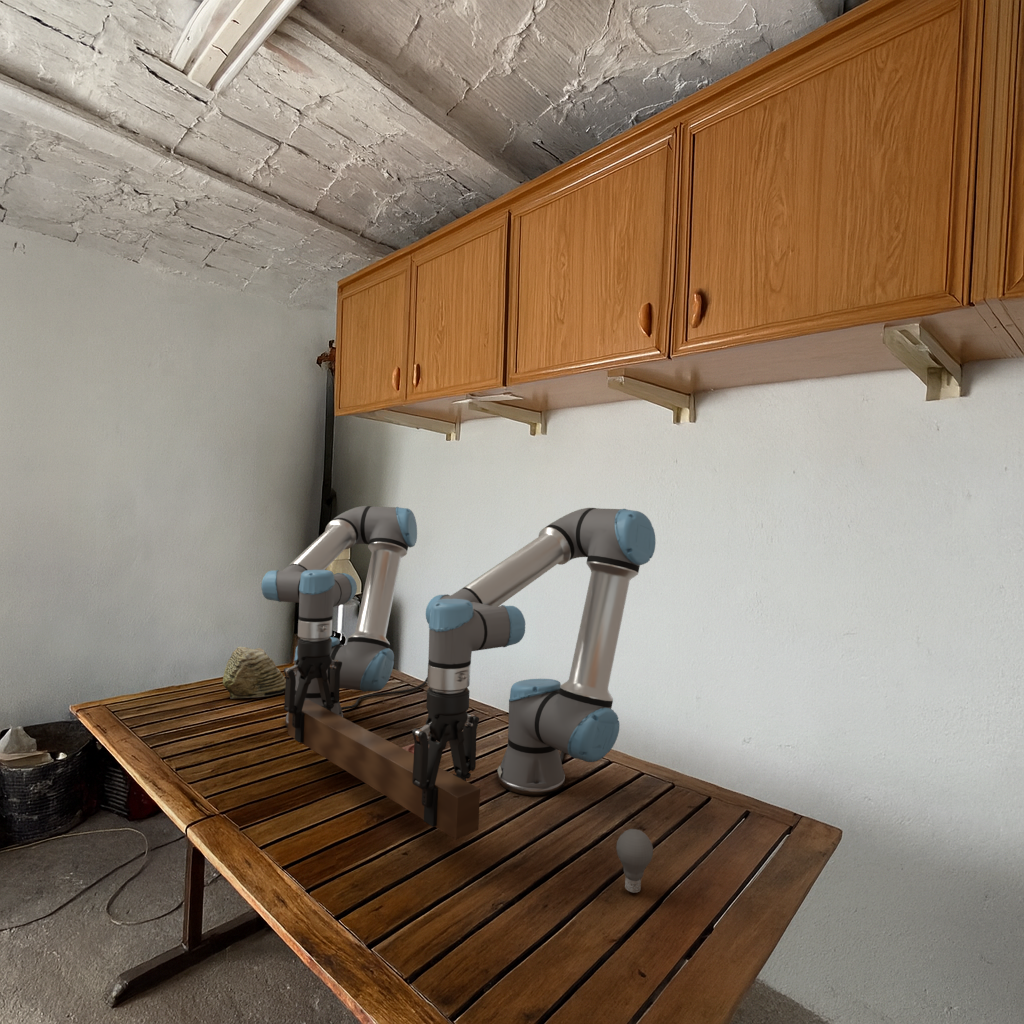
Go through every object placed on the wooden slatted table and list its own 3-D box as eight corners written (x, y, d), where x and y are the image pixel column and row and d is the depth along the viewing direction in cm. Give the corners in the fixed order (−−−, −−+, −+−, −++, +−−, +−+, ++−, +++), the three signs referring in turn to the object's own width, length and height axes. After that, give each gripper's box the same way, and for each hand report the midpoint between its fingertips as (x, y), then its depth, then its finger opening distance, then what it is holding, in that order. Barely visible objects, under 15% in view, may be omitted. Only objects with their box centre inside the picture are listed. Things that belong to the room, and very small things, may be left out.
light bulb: (610, 879, 108) (613, 822, 108) (644, 879, 109) (647, 822, 109) (619, 902, 102) (622, 840, 102) (655, 901, 103) (658, 840, 103)
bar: (287, 734, 149) (288, 703, 149) (307, 729, 152) (309, 699, 152) (456, 840, 106) (457, 797, 106) (478, 829, 110) (480, 788, 109)
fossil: (218, 695, 195) (220, 647, 195) (278, 685, 208) (279, 640, 207) (228, 703, 189) (230, 653, 188) (289, 692, 201) (290, 645, 201)
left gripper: (284, 646, 137) (280, 752, 137) (358, 635, 149) (354, 733, 150) (269, 639, 142) (265, 742, 142) (341, 630, 155) (338, 724, 155)
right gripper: (419, 703, 103) (414, 844, 103) (500, 683, 116) (494, 809, 116) (393, 692, 108) (387, 826, 109) (472, 674, 121) (467, 794, 121)
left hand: (311, 737), depth 146 cm, fingers closed on bar, 5 cm apart
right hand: (443, 817), depth 112 cm, fingers closed on bar, 5 cm apart
